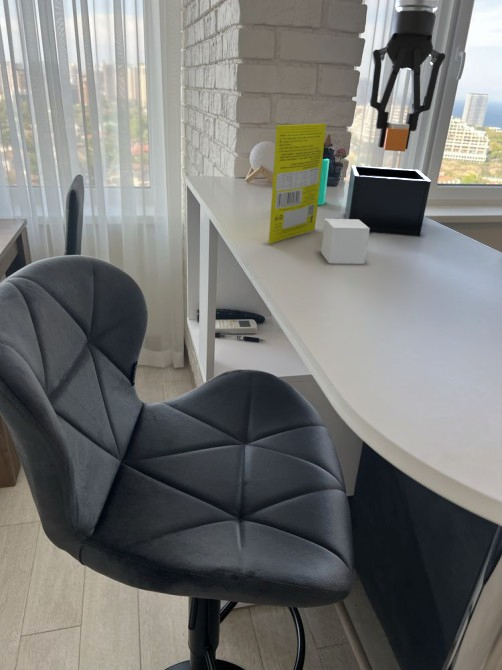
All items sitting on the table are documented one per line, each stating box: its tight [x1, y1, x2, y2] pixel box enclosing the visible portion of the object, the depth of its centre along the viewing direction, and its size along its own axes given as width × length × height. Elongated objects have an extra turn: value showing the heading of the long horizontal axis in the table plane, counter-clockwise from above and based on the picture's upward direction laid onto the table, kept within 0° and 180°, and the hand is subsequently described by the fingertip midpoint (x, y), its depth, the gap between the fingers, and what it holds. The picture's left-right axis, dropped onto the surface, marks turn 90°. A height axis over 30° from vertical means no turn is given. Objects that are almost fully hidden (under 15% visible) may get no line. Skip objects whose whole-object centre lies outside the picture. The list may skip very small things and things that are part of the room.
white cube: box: [320, 218, 370, 265], centre depth 85 cm, size 6×6×6 cm
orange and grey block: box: [382, 121, 409, 153], centre depth 101 cm, size 4×7×5 cm, turn 173°
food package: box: [268, 123, 327, 245], centre depth 92 cm, size 15×1×20 cm, turn 141°
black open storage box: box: [344, 165, 432, 237], centre depth 107 cm, size 15×15×11 cm
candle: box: [317, 158, 330, 206], centre depth 124 cm, size 6×6×12 cm
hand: (392, 147), depth 102 cm, fingers closed on orange and grey block, 4 cm apart
